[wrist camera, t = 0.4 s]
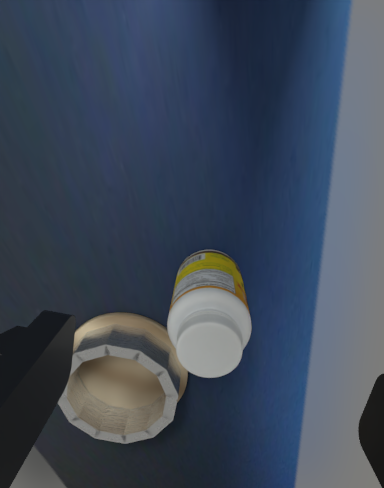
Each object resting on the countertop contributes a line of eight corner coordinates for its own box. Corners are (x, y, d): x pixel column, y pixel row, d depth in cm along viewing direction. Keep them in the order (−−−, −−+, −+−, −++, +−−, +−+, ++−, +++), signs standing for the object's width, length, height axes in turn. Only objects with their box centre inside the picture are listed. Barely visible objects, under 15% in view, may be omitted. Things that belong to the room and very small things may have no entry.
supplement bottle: (230, 312, 31) (239, 399, 21) (170, 295, 31) (152, 377, 21) (250, 256, 29) (270, 325, 19) (186, 239, 29) (175, 299, 19)
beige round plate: (69, 301, 31) (64, 307, 30) (198, 325, 31) (198, 331, 31) (62, 401, 35) (58, 409, 35) (177, 422, 36) (176, 430, 35)
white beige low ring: (72, 315, 31) (58, 335, 28) (188, 337, 31) (186, 359, 28) (66, 405, 34) (53, 430, 31) (170, 424, 34) (166, 451, 32)
